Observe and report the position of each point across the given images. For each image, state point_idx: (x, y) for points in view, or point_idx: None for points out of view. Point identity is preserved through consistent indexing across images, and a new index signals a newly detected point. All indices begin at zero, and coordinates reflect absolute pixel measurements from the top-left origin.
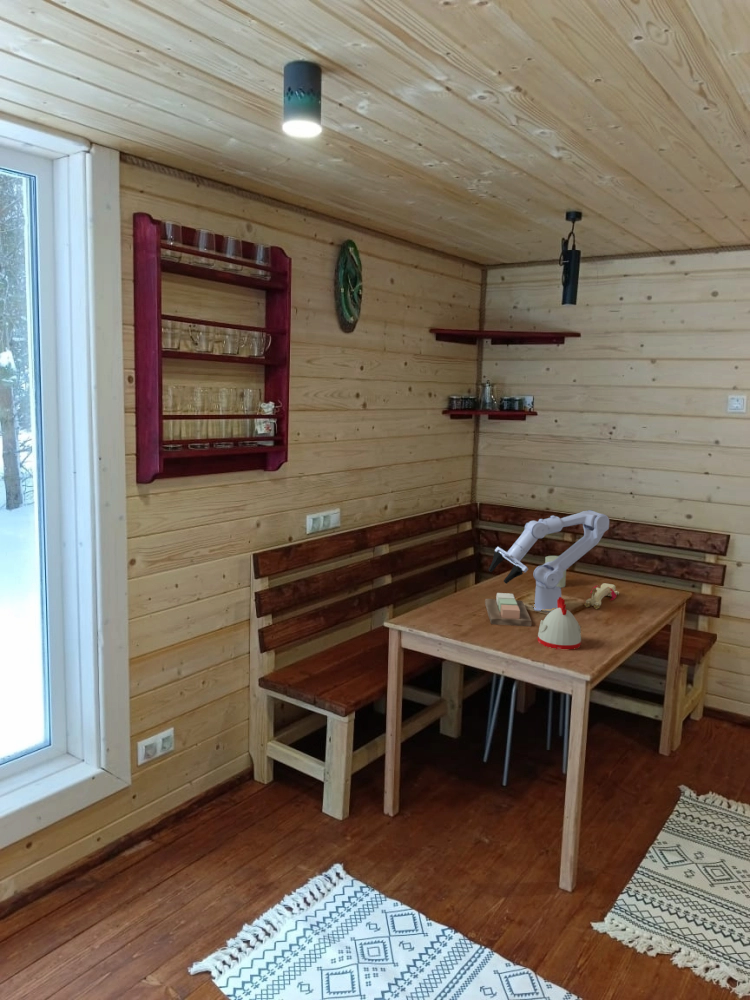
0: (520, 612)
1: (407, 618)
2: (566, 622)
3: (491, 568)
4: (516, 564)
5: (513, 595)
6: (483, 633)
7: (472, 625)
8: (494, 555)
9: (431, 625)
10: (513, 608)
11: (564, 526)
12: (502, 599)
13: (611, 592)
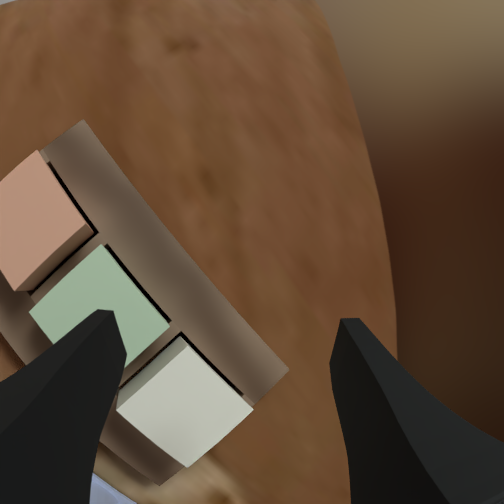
0: (30, 320)
1: (320, 29)
2: None
3: (348, 347)
4: None
5: (159, 446)
6: (70, 42)
7: (138, 71)
8: (488, 446)
9: (240, 10)
10: (4, 216)
11: None
12: (142, 327)
13: None
